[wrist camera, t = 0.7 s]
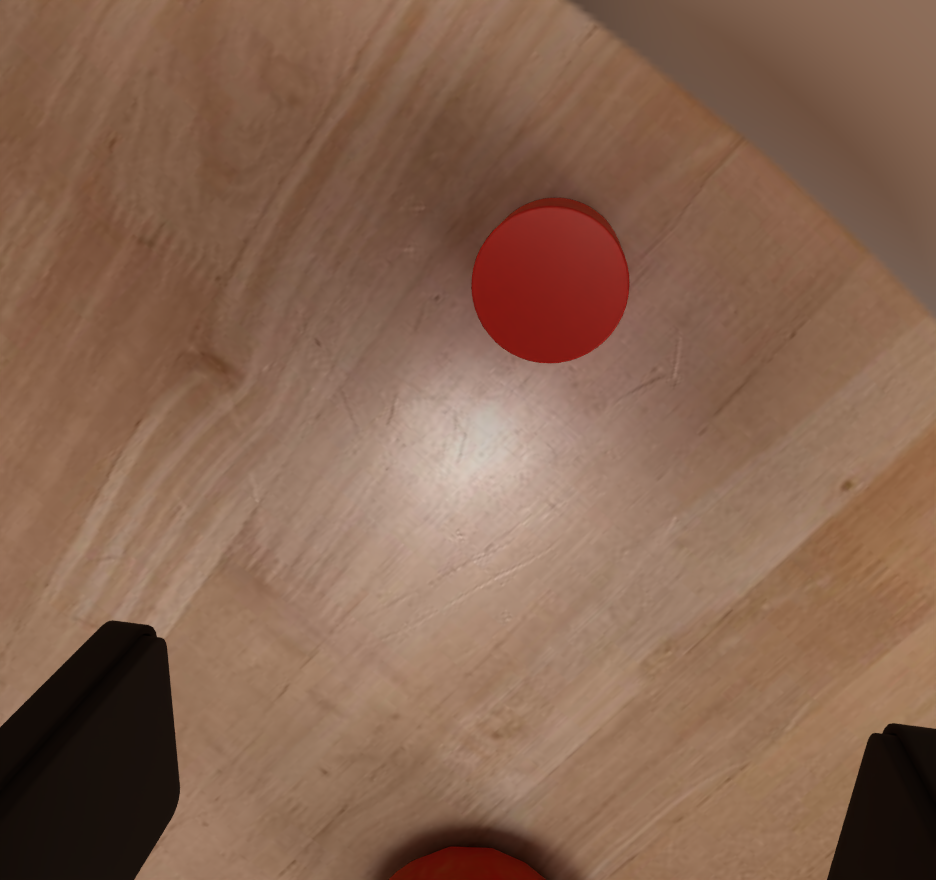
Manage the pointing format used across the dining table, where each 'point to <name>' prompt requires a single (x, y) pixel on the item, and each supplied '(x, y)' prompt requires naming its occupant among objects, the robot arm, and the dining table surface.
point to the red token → (551, 281)
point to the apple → (467, 866)
